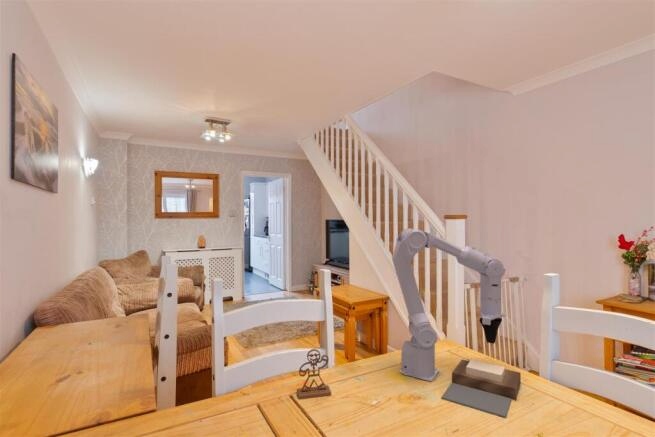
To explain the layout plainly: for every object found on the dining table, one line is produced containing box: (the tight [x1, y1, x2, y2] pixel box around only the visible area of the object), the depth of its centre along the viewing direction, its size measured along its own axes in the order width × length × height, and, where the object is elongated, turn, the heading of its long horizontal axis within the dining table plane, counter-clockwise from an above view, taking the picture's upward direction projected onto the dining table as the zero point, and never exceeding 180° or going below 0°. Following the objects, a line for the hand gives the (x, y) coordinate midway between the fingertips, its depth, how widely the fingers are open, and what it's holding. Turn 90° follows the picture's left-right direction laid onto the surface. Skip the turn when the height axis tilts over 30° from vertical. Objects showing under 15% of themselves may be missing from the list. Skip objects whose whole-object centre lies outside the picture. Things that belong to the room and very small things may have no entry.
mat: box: [441, 382, 512, 419], centre depth 87 cm, size 15×10×1 cm, turn 55°
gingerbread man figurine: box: [296, 348, 332, 400], centre depth 91 cm, size 9×4×12 cm, turn 102°
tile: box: [466, 359, 506, 383], centre depth 95 cm, size 9×6×2 cm, turn 55°
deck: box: [451, 359, 522, 401], centre depth 96 cm, size 16×11×3 cm
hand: (490, 342), depth 102 cm, fingers closed
